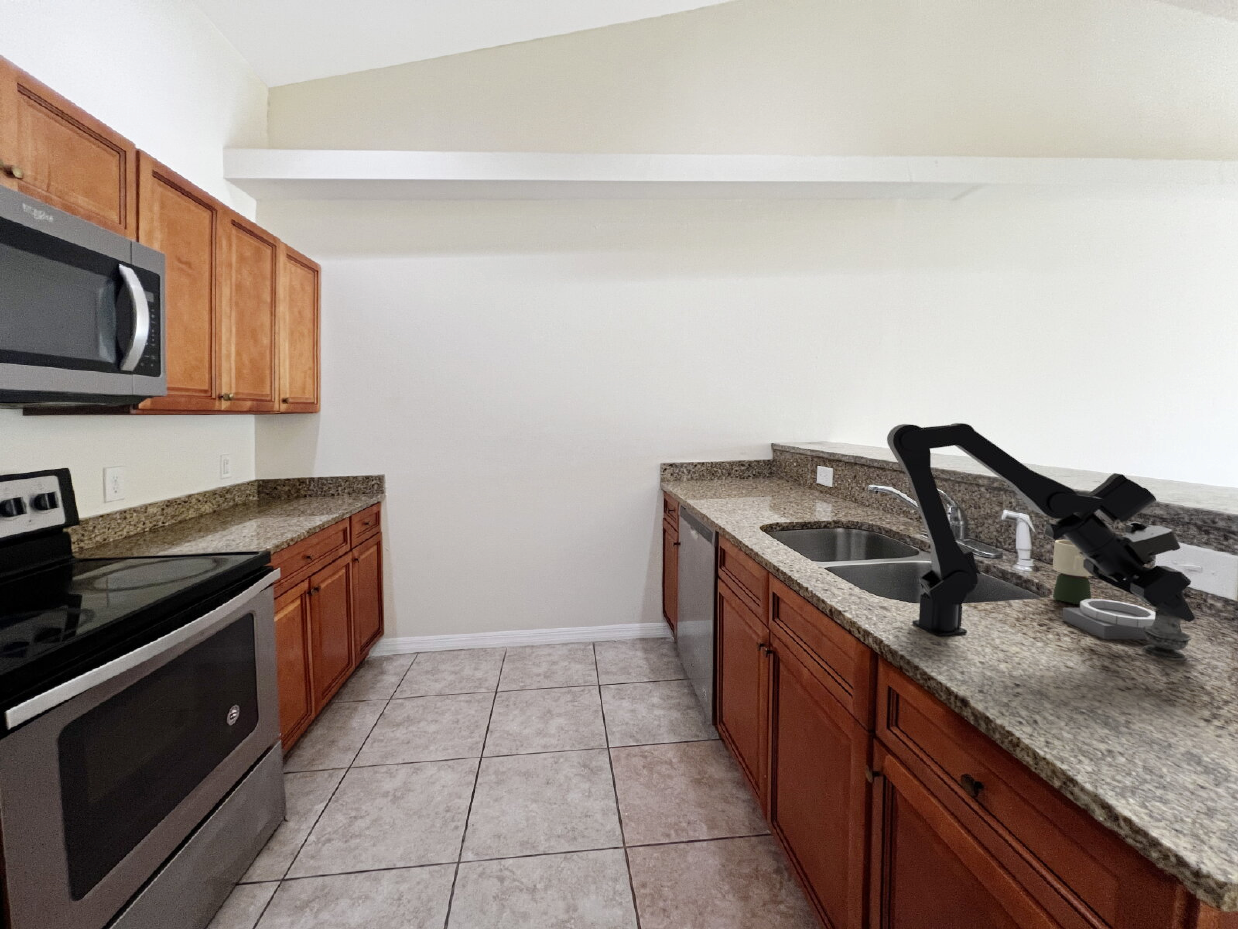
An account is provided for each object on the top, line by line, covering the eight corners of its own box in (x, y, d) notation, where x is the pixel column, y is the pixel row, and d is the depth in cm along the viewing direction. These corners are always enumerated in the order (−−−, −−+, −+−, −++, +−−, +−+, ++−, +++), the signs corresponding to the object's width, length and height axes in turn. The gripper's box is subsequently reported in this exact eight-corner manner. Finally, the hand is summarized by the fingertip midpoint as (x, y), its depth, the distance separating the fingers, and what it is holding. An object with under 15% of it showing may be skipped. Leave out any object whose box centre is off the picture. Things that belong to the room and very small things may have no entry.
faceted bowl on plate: (1107, 641, 95) (1109, 619, 95) (1059, 618, 105) (1060, 598, 105) (1180, 641, 95) (1182, 619, 95) (1124, 618, 105) (1126, 599, 105)
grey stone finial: (1130, 646, 93) (1136, 578, 92) (1161, 645, 93) (1167, 578, 92) (1167, 661, 87) (1174, 589, 86) (1200, 660, 88) (1207, 589, 87)
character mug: (1097, 614, 108) (1102, 551, 107) (1052, 606, 112) (1057, 546, 111) (1090, 599, 117) (1095, 540, 116) (1048, 592, 121) (1052, 536, 120)
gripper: (1180, 520, 81) (1268, 598, 78) (1108, 501, 98) (1178, 564, 96) (1112, 567, 84) (1195, 643, 81) (1054, 540, 101) (1121, 603, 99)
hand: (1171, 610), depth 89 cm, fingers open, 9 cm apart
